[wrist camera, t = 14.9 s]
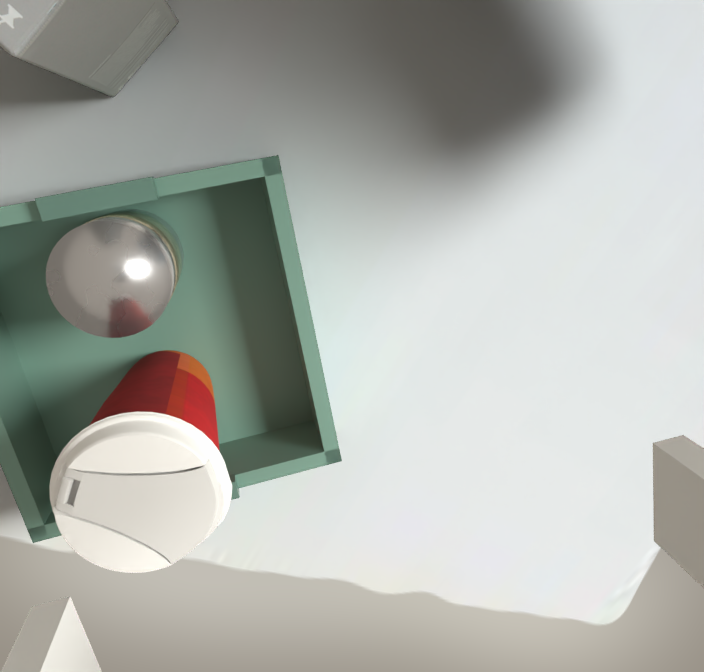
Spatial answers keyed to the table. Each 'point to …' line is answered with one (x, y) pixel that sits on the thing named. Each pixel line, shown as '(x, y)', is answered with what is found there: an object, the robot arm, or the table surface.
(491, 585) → the table surface
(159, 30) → the skincare box
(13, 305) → the tote
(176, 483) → the coffee cup
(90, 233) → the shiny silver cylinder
